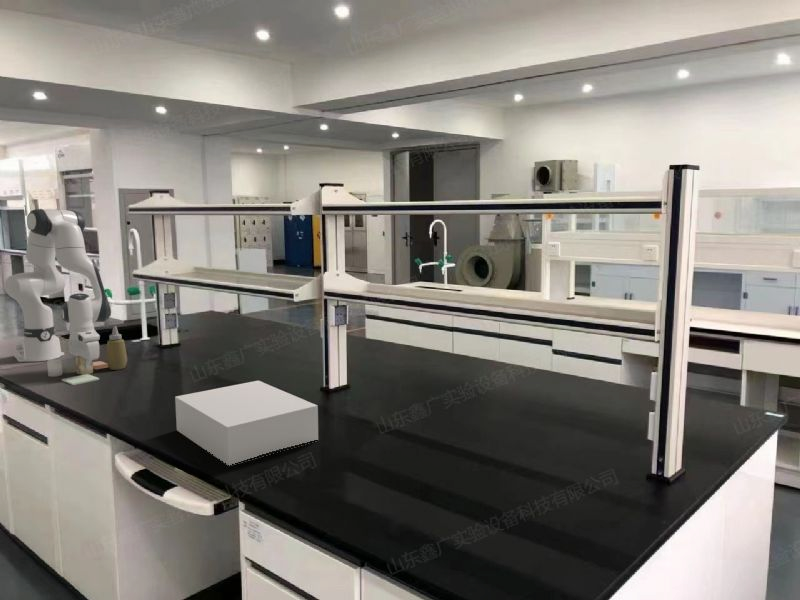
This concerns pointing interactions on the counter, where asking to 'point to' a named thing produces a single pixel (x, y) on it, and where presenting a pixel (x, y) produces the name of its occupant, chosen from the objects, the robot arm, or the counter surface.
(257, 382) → the box
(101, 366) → the terracotta tile
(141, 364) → the counter surface
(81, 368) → the maple block
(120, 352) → the squeeze bottle
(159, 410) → the counter surface
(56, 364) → the white rounded dome
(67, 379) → the mat
